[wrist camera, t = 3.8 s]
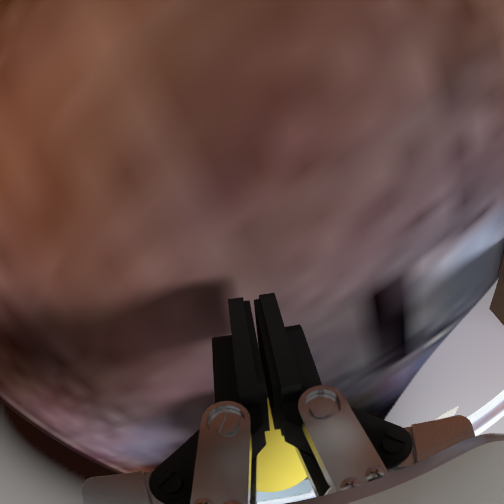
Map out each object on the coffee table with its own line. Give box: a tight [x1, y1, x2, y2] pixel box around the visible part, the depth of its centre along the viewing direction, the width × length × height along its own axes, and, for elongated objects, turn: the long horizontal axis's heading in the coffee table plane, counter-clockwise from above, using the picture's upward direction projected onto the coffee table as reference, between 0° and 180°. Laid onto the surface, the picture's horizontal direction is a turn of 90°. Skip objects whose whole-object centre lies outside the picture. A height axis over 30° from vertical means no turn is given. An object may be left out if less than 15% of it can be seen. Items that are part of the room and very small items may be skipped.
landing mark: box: [257, 478, 312, 502], centre depth 32 cm, size 12×12×1 cm
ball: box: [257, 398, 307, 492], centre depth 14 cm, size 6×6×6 cm
